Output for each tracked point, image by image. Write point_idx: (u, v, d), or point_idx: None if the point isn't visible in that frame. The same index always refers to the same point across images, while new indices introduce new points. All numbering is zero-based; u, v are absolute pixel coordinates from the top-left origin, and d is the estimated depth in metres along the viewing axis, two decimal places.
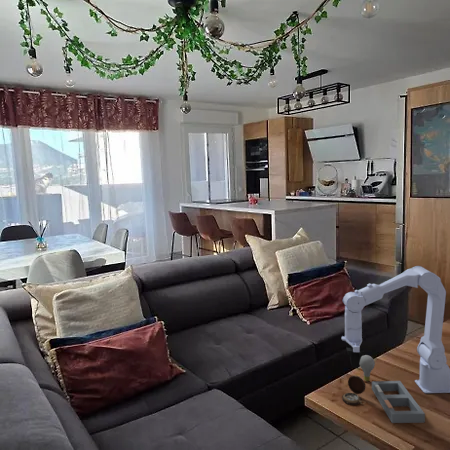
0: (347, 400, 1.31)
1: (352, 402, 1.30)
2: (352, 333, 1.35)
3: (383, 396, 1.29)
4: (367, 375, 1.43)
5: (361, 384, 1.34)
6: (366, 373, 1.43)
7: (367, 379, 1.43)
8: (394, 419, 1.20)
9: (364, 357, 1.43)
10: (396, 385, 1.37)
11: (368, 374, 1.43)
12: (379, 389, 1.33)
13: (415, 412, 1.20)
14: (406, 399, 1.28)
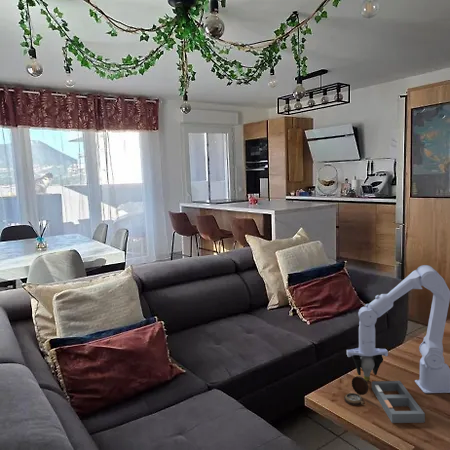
0: (348, 400, 1.31)
1: (353, 402, 1.30)
2: None
3: (383, 396, 1.29)
4: (367, 375, 1.43)
5: (365, 385, 1.33)
6: (366, 373, 1.43)
7: (367, 379, 1.43)
8: (394, 419, 1.20)
9: (364, 357, 1.43)
10: (396, 385, 1.37)
11: (368, 374, 1.43)
12: (379, 389, 1.33)
13: (415, 412, 1.20)
14: (406, 399, 1.28)
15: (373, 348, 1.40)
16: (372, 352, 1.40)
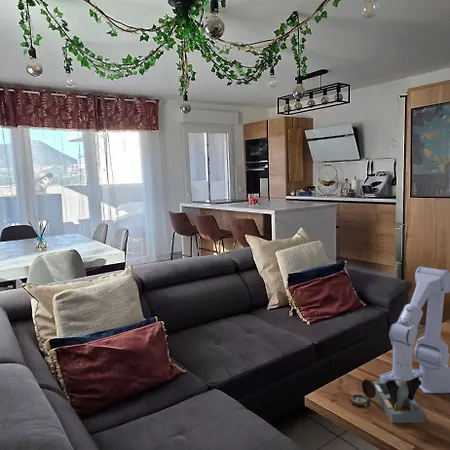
0: (352, 400, 1.31)
1: (356, 403, 1.29)
2: (393, 365, 1.23)
3: (383, 396, 1.29)
4: (400, 404, 1.25)
5: (372, 389, 1.31)
6: (399, 402, 1.24)
7: (399, 409, 1.25)
8: (394, 419, 1.20)
9: (398, 384, 1.24)
10: None
11: (401, 403, 1.25)
12: (379, 389, 1.33)
13: (415, 412, 1.20)
14: (406, 399, 1.28)
15: (411, 370, 1.21)
16: (410, 375, 1.21)
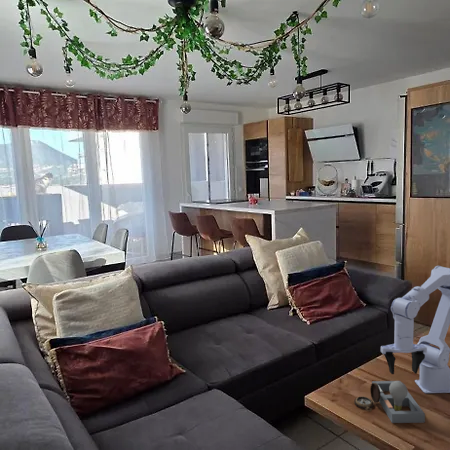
0: (356, 401, 1.30)
1: (358, 404, 1.29)
2: (394, 337, 1.29)
3: (383, 396, 1.29)
4: (399, 404, 1.25)
5: (378, 393, 1.28)
6: (398, 402, 1.24)
7: (399, 409, 1.25)
8: (394, 419, 1.20)
9: (396, 384, 1.24)
10: None
11: (400, 403, 1.25)
12: None
13: (415, 412, 1.20)
14: (406, 399, 1.28)
15: (411, 344, 1.26)
16: (410, 348, 1.26)
